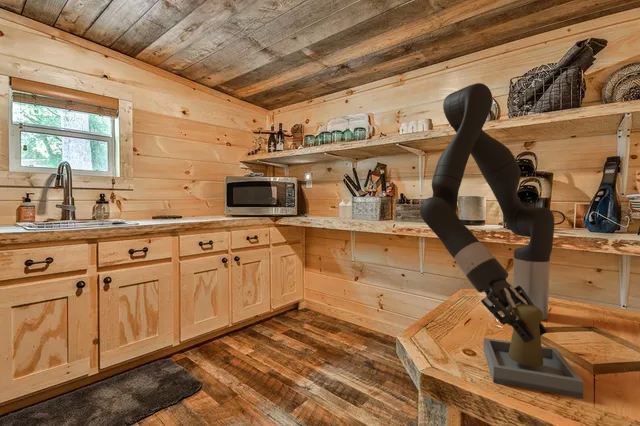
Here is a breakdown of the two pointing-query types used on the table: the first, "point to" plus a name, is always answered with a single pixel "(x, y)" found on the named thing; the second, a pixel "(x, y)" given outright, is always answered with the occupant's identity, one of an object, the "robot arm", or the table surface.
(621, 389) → the table surface
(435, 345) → the table surface
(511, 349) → the cork
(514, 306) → the robot arm
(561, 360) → the tray
